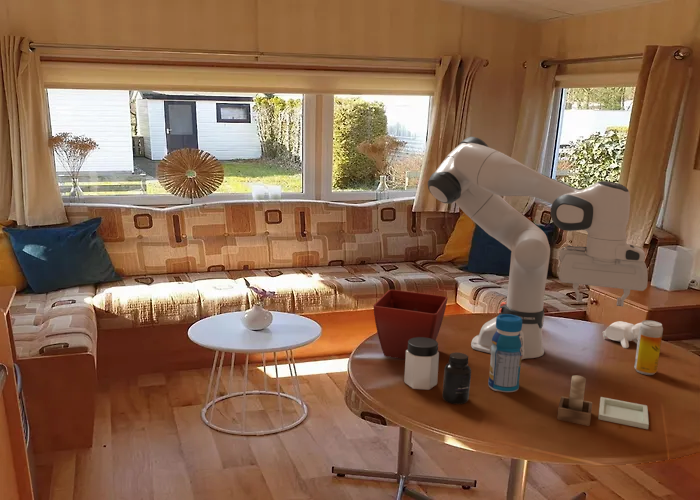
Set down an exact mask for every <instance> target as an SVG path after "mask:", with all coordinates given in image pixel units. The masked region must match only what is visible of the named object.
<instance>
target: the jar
mask: <svg viewBox="0 0 700 500" xmlns="http://www.w3.org/2000/svg"><path fill="white" fill-rule="evenodd" d="M439 358H440V352H439V342H438V341H437V340H436V341H435V340H433V339H431V338H426V337H415V338H411V339H410V340H409V341H408V350H406V358H405V359H404V360H405V363H404V377H403V378H404V379H403V380H404V381H403V382H404V383H405V384H406V385H408V386H409V387H410V388H411V389H413V390H426V391H429V390H431V389H433V387H435V386H437V384H438V375H439V373H438V372H439V363H440V362H439V360H440V359H439Z"/></svg>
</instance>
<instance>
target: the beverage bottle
mask: <svg viewBox="0 0 700 500" xmlns="http://www.w3.org/2000/svg"><path fill="white" fill-rule="evenodd" d="M496 317H497V318H496V329H497V331H496V332H495V334H494V335H493V338H492V343H493V345H492V346H491V349H490V352H491V353H490V364H489V374H488V376H489V377H488V380H487V381H488V383H487V384H488V387H489V389H491V390H493V391H495V392H501V393H502V392H503V393H513V392H517V391H518V390H519V388H520V375H521V366H522V365H521V364H522V359H521V358H522V355H523V350H522V346H523V340H522V337H521V335H520V333H519V332H520V331H521V329H522V318H521V317H519V316H516V315H511V314H501V315H499V314H498V315H497V316H496Z"/></svg>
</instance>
